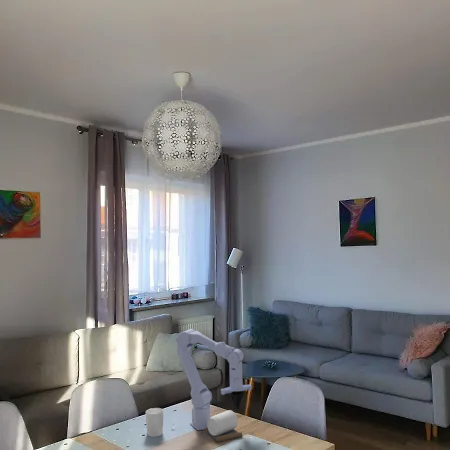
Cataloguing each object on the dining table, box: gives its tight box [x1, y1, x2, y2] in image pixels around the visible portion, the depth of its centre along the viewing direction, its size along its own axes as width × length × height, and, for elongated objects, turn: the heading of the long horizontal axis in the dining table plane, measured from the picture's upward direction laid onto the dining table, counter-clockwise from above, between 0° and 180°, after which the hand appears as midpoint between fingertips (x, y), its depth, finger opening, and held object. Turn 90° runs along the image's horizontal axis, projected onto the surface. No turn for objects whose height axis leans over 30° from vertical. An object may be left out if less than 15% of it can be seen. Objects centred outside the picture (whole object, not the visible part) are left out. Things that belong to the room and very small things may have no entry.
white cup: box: [145, 407, 165, 438], centre depth 203 cm, size 8×8×10 cm
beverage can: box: [207, 409, 238, 436], centre depth 202 cm, size 8×8×12 cm
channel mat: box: [204, 427, 243, 443], centre depth 201 cm, size 13×12×2 cm
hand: (236, 408), depth 205 cm, fingers closed
